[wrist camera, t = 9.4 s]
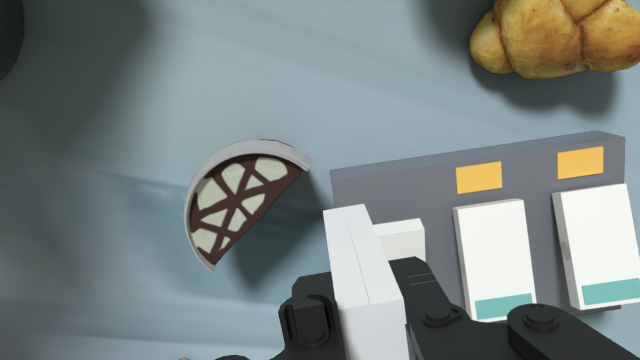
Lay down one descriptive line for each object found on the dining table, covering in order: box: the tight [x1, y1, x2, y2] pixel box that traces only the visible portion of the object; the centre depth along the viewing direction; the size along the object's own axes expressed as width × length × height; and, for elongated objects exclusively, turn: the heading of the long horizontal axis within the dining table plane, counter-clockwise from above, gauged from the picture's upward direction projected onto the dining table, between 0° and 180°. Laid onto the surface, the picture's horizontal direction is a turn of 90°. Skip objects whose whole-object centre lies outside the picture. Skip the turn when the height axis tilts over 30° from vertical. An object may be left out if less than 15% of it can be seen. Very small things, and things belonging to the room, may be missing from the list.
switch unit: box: [330, 130, 625, 323], centre depth 44 cm, size 17×26×6 cm, turn 98°
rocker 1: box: [373, 218, 426, 262], centre depth 40 cm, size 10×6×2 cm, turn 8°
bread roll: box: [470, 0, 640, 79], centre depth 38 cm, size 13×10×8 cm
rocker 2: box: [452, 198, 537, 322], centre depth 40 cm, size 10×6×2 cm, turn 9°
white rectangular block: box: [552, 183, 640, 310], centre depth 40 cm, size 10×6×2 cm, turn 9°
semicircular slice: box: [184, 139, 312, 273], centre depth 40 cm, size 12×6×10 cm, turn 137°
